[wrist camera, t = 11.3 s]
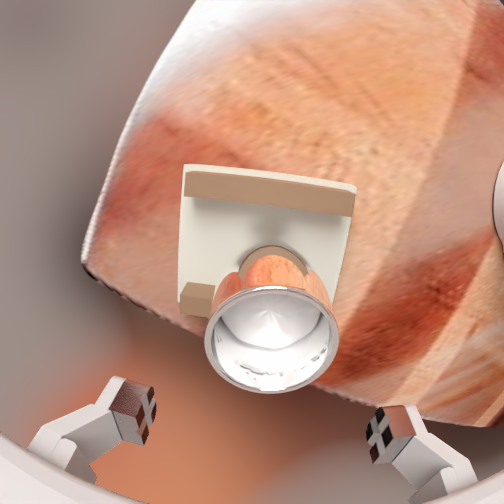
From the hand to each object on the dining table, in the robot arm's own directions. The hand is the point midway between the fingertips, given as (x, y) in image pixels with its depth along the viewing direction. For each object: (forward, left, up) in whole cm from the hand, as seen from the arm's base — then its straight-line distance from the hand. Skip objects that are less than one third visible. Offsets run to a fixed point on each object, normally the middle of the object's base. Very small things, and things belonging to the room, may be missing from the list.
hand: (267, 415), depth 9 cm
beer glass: (0, 0, -20) cm, 20 cm away
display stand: (0, 0, -22) cm, 22 cm away
